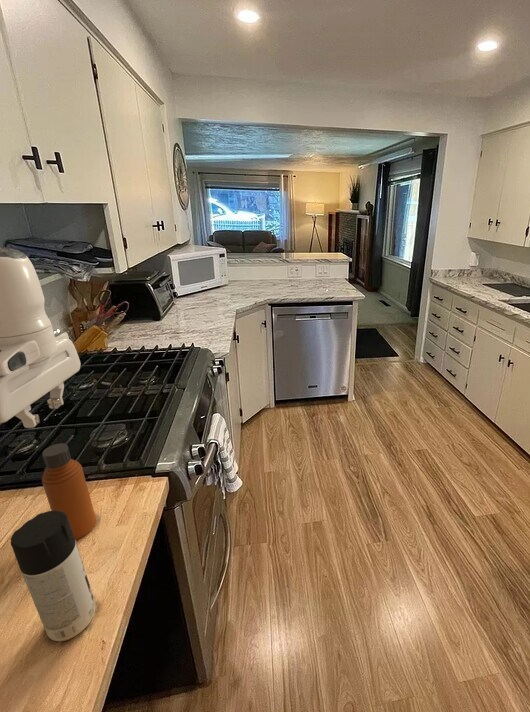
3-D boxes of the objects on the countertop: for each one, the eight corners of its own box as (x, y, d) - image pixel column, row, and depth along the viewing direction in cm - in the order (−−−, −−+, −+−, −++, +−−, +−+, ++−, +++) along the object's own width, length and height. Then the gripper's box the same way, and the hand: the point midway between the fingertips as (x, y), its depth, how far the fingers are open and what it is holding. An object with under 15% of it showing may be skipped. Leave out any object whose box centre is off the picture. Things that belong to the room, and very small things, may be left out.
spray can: (106, 606, 59) (79, 515, 53) (67, 651, 53) (30, 554, 47) (77, 593, 61) (47, 503, 55) (36, 634, 55) (-4, 539, 49)
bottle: (52, 541, 71) (25, 462, 64) (72, 515, 77) (50, 441, 70) (84, 540, 71) (61, 462, 65) (102, 514, 77) (83, 440, 71)
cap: (40, 469, 66) (36, 456, 65) (55, 455, 70) (51, 443, 69) (62, 468, 66) (58, 456, 66) (75, 454, 70) (72, 443, 69)
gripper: (47, 325, 70) (65, 388, 74) (-54, 371, 51) (-22, 451, 55) (80, 325, 70) (95, 388, 75) (-8, 370, 51) (20, 451, 55)
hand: (45, 415), depth 65 cm, fingers open, 5 cm apart
